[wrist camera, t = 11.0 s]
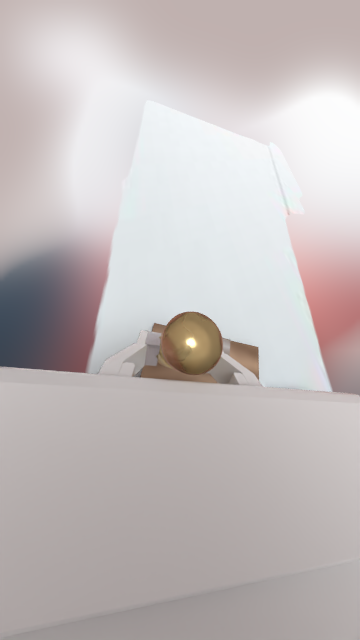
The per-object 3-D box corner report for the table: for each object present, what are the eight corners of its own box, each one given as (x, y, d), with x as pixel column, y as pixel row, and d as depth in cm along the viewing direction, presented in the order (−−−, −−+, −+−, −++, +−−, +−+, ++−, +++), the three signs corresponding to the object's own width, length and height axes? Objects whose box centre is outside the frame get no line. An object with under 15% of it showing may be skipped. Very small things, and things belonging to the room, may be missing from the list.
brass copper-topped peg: (178, 369, 15) (221, 380, 6) (152, 365, 15) (155, 369, 6) (182, 343, 17) (224, 318, 7) (158, 338, 16) (168, 305, 7)
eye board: (253, 405, 28) (269, 412, 24) (138, 386, 24) (135, 390, 20) (253, 347, 31) (267, 346, 28) (154, 324, 28) (154, 319, 24)
